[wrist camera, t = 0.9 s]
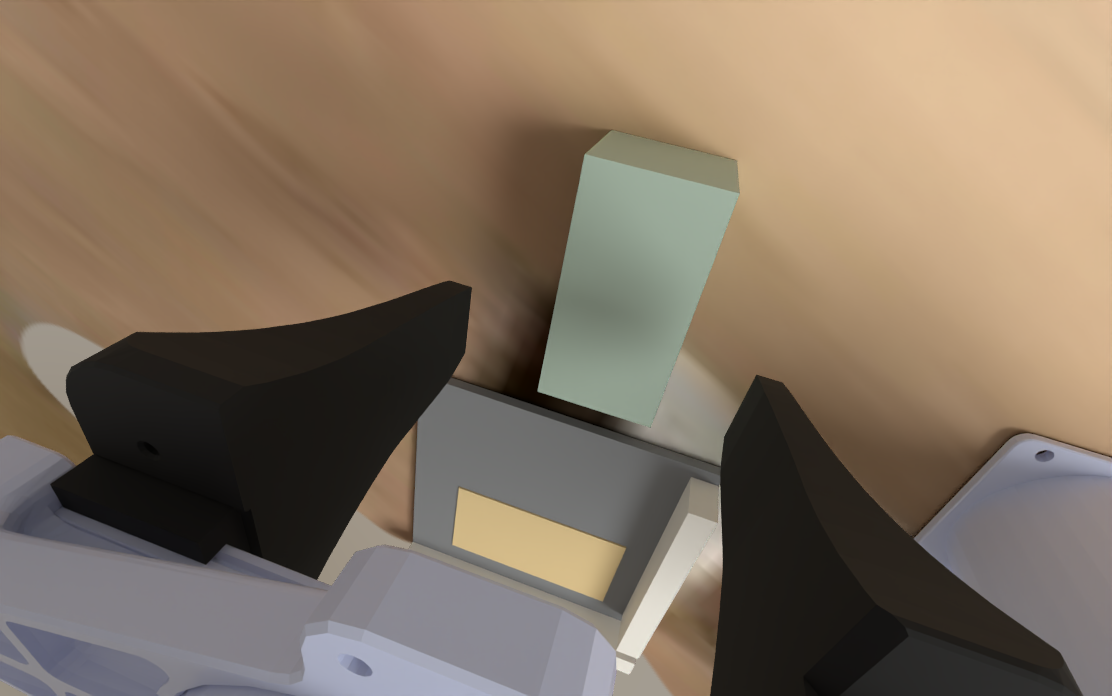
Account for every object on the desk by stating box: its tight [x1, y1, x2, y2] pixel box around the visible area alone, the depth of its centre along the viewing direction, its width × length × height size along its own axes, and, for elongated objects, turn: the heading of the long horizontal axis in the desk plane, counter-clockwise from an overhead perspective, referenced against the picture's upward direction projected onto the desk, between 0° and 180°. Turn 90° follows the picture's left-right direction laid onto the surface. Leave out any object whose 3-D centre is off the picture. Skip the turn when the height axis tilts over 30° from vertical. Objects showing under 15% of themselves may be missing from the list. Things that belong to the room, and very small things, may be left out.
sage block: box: [538, 130, 740, 428], centre depth 17 cm, size 4×8×4 cm, turn 170°
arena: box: [408, 378, 721, 674], centre depth 26 cm, size 14×14×2 cm
